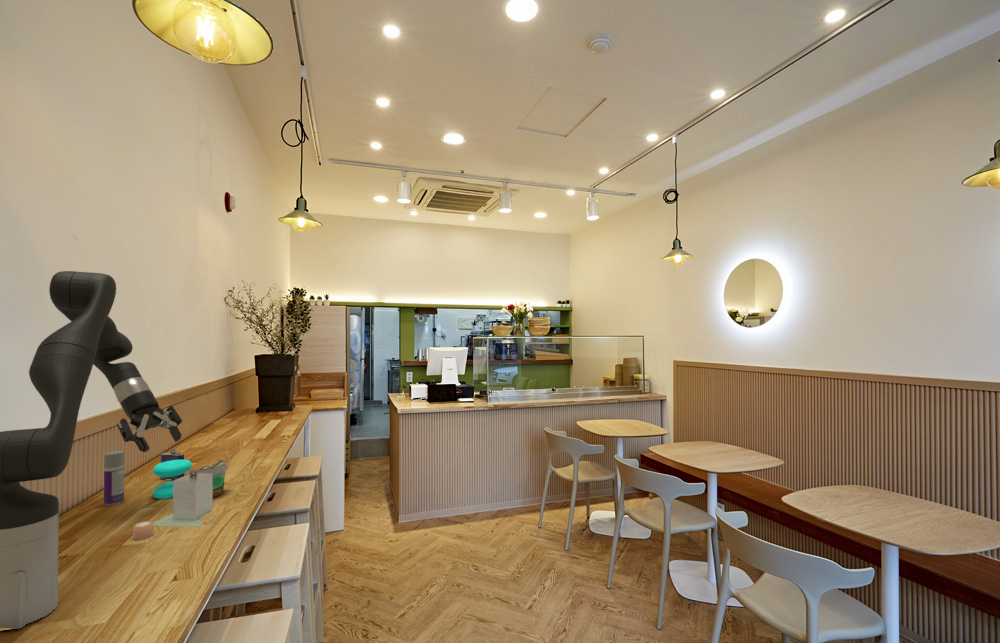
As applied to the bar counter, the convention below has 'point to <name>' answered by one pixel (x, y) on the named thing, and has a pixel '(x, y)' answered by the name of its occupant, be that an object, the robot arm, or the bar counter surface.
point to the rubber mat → (180, 522)
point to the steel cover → (192, 496)
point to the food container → (215, 476)
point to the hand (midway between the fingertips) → (163, 445)
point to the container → (113, 478)
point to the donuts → (169, 470)
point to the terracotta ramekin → (142, 530)
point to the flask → (168, 457)
